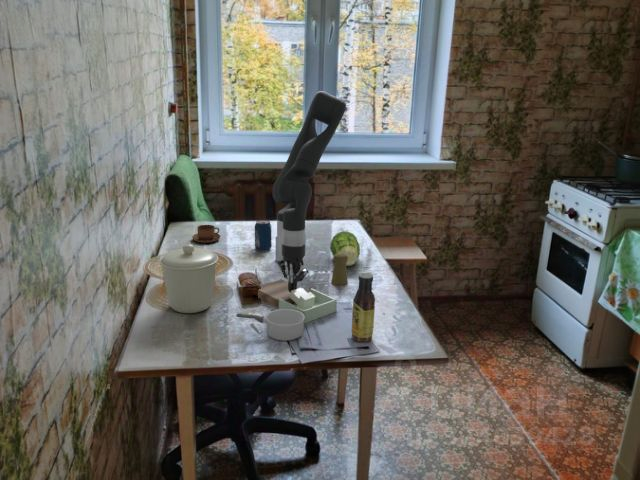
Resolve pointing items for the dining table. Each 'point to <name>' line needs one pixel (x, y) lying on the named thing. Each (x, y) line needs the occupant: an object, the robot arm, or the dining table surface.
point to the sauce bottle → (363, 309)
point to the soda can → (263, 235)
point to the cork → (340, 270)
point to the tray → (314, 306)
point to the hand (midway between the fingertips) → (292, 291)
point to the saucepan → (281, 323)
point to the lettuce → (346, 246)
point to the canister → (189, 278)
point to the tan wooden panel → (275, 292)
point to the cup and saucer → (206, 234)
